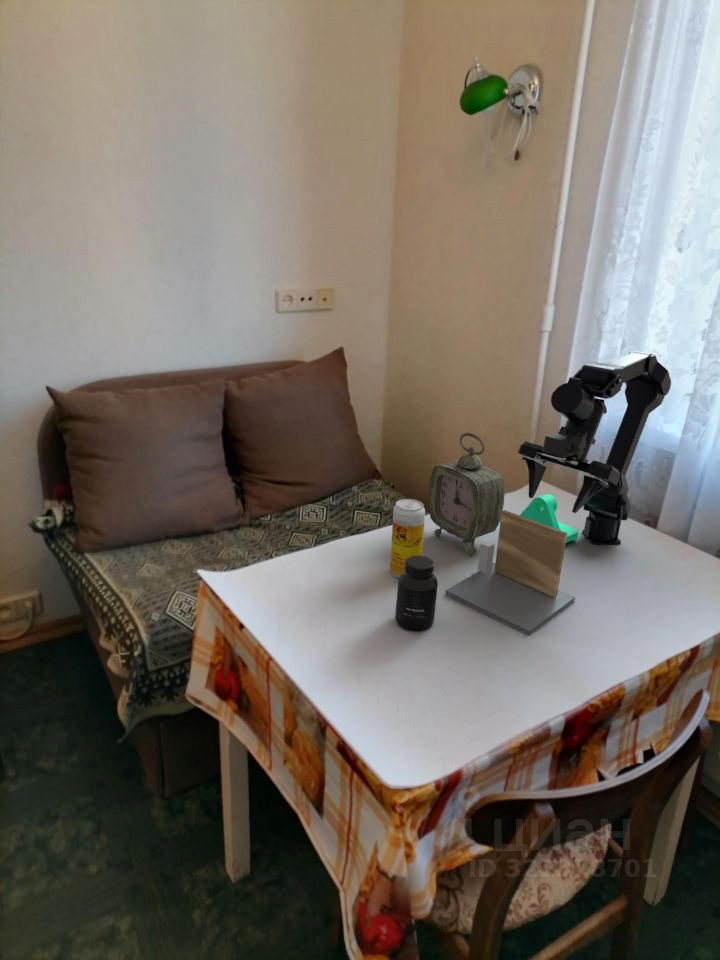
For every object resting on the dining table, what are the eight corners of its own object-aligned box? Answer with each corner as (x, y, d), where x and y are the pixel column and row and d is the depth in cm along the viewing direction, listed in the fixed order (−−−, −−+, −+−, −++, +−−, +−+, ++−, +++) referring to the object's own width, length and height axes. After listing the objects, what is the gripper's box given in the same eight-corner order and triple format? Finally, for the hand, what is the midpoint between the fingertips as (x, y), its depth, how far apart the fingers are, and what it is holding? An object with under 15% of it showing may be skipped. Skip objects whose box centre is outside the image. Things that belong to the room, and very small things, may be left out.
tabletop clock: (425, 534, 149) (434, 427, 140) (455, 525, 154) (464, 421, 145) (472, 561, 138) (484, 447, 129) (502, 550, 144) (515, 439, 134)
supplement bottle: (408, 637, 113) (412, 575, 108) (388, 616, 118) (391, 556, 114) (441, 627, 116) (447, 566, 111) (420, 607, 121) (425, 549, 117)
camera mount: (578, 542, 149) (585, 499, 145) (556, 550, 145) (563, 507, 141) (536, 522, 158) (542, 482, 154) (514, 530, 153) (519, 488, 150)
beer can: (385, 576, 131) (389, 507, 126) (395, 563, 137) (399, 496, 131) (414, 583, 129) (420, 513, 124) (424, 569, 134) (429, 501, 129)
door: (497, 569, 133) (504, 510, 128) (557, 595, 124) (567, 532, 120) (494, 571, 132) (501, 511, 127) (554, 597, 124) (564, 534, 119)
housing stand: (491, 566, 137) (495, 535, 134) (574, 601, 125) (579, 568, 122) (443, 593, 126) (446, 561, 123) (528, 635, 114) (534, 600, 112)
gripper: (520, 405, 126) (491, 482, 127) (614, 428, 114) (582, 513, 115) (543, 421, 135) (516, 493, 135) (633, 444, 123) (603, 523, 123)
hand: (551, 505), depth 127 cm, fingers open, 9 cm apart
